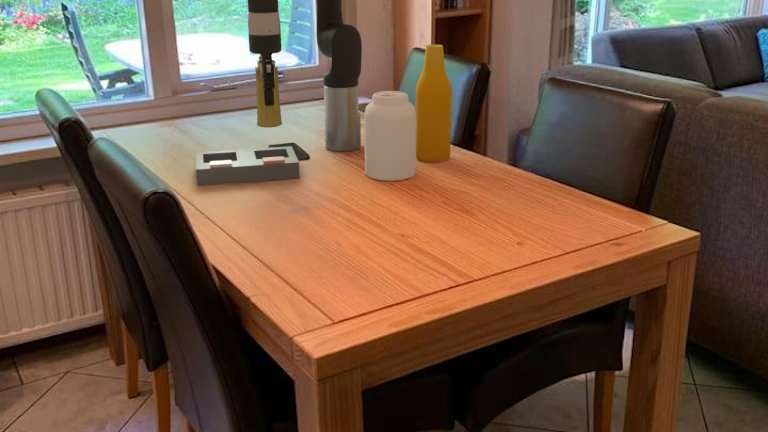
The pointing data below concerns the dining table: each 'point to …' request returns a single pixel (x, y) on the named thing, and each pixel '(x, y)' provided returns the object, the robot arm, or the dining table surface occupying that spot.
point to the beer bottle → (433, 108)
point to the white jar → (390, 137)
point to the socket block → (246, 165)
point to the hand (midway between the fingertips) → (268, 102)
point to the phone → (297, 150)
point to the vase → (267, 114)
